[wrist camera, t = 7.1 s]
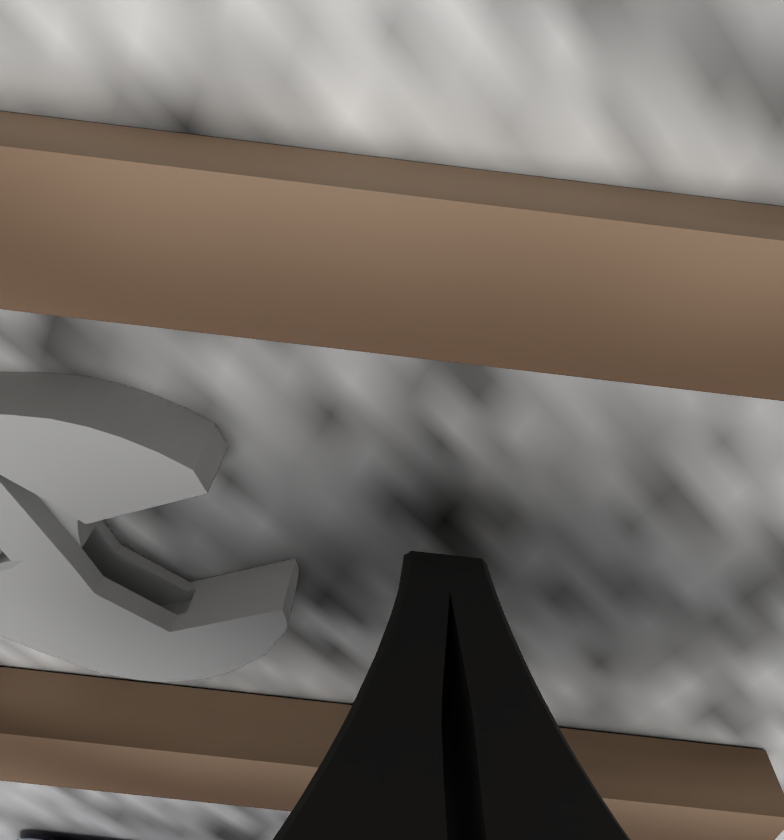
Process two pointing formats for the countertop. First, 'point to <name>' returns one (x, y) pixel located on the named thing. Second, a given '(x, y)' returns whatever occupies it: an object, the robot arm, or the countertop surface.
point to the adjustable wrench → (98, 547)
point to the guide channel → (385, 334)
